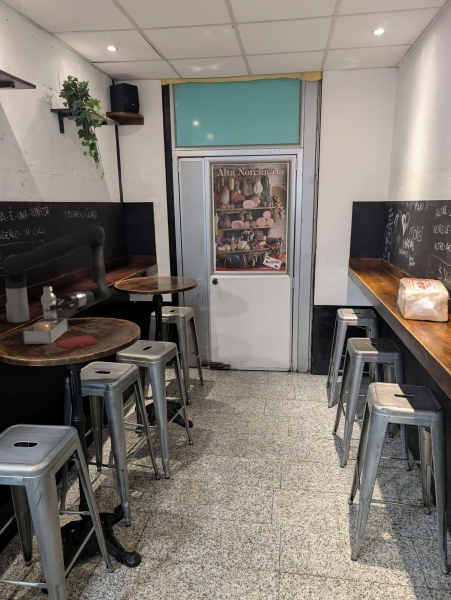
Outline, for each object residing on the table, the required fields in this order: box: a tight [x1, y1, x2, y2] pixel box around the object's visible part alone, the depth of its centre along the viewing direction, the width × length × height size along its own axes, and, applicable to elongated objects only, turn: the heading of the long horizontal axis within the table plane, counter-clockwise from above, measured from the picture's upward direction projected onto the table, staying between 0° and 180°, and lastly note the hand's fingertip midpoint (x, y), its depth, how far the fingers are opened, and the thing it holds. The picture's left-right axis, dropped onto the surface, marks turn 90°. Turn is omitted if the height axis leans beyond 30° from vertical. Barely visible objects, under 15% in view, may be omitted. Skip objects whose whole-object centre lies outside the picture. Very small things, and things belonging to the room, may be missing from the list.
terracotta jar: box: [32, 322, 50, 331], centre depth 181 cm, size 7×7×7 cm
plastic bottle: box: [40, 285, 59, 324], centre depth 189 cm, size 6×7×20 cm
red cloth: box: [55, 335, 99, 350], centre depth 178 cm, size 18×14×2 cm
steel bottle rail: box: [22, 317, 69, 345], centre depth 186 cm, size 11×22×6 cm, turn 2°
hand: (45, 307), depth 187 cm, fingers closed on plastic bottle, 6 cm apart
